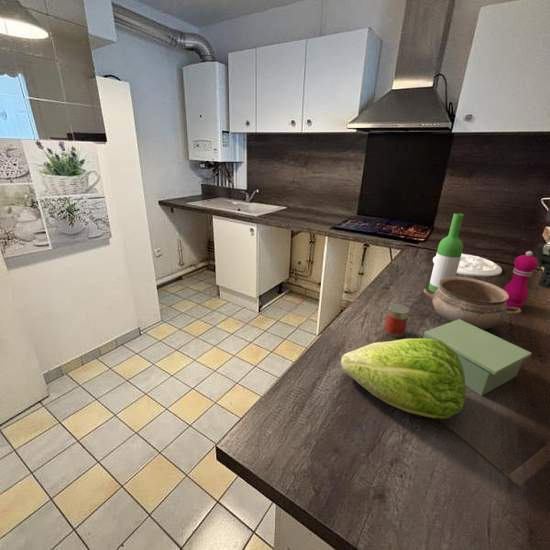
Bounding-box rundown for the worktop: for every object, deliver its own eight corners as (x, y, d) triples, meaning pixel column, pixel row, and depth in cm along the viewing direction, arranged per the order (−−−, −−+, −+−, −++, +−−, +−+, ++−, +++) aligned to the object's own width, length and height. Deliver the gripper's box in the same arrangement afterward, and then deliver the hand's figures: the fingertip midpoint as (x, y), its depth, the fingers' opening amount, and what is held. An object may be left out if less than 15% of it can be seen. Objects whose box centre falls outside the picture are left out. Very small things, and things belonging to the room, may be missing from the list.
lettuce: (338, 415, 65) (362, 380, 77) (468, 438, 50) (471, 391, 63) (325, 352, 64) (351, 328, 76) (454, 357, 49) (460, 326, 62)
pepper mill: (526, 306, 101) (548, 252, 93) (518, 312, 97) (540, 256, 90) (502, 298, 107) (520, 246, 99) (494, 304, 103) (512, 250, 95)
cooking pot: (414, 325, 90) (422, 290, 85) (422, 301, 104) (429, 270, 100) (515, 353, 78) (531, 313, 73) (508, 321, 92) (521, 286, 88)
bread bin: (515, 378, 69) (525, 355, 66) (480, 398, 63) (489, 373, 60) (452, 342, 82) (458, 321, 79) (418, 356, 76) (423, 334, 74)
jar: (393, 328, 89) (398, 301, 85) (408, 337, 84) (413, 310, 81) (379, 332, 86) (384, 305, 83) (394, 342, 82) (399, 314, 78)
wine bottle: (455, 293, 110) (476, 214, 99) (443, 298, 107) (464, 217, 95) (435, 286, 117) (453, 211, 105) (423, 290, 113) (441, 213, 101)
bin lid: (530, 356, 65) (531, 352, 65) (494, 375, 60) (495, 371, 59) (458, 321, 79) (459, 318, 79) (423, 334, 73) (424, 331, 73)
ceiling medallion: (452, 252, 156) (454, 246, 155) (513, 268, 134) (515, 262, 133) (420, 261, 143) (421, 255, 142) (481, 281, 121) (483, 274, 120)
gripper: (594, 202, 45) (552, 301, 52) (628, 197, 50) (586, 287, 57) (536, 196, 51) (506, 285, 58) (572, 192, 56) (540, 274, 63)
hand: (546, 286), depth 57 cm, fingers closed
